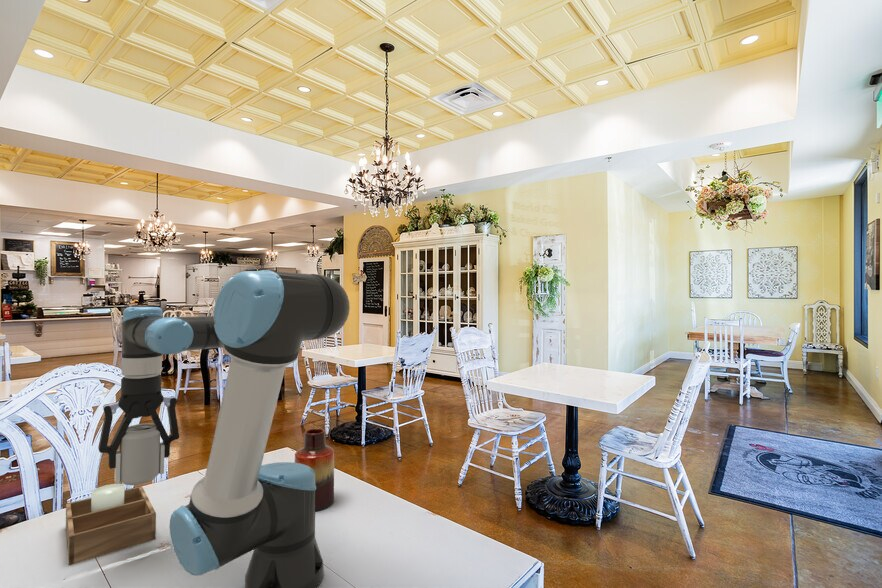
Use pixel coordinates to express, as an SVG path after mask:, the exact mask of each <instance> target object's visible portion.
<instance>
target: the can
mask: <svg viewBox="0 0 882 588" xmlns="http://www.w3.org/2000/svg"><path fill="white" fill-rule="evenodd" d="M156 427H157V426H156V425H155V424H154V423H152V422H151V423H149V422H148V423H138V424H133V425H129V427H128V429H127V431H126V433H125V435H124V437H123V438H122V441H121V443H120V445H119V451H120V453H121V461H120V483H121V484H123V485H124V486H139V485H144V484H147V483H149V482H151V481H153V480H155V479H156V478H157V477H158V476H159V475H160V473H159V467H160V443H161V436H160V432H159V431H158V429H157V428H156Z"/></svg>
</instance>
